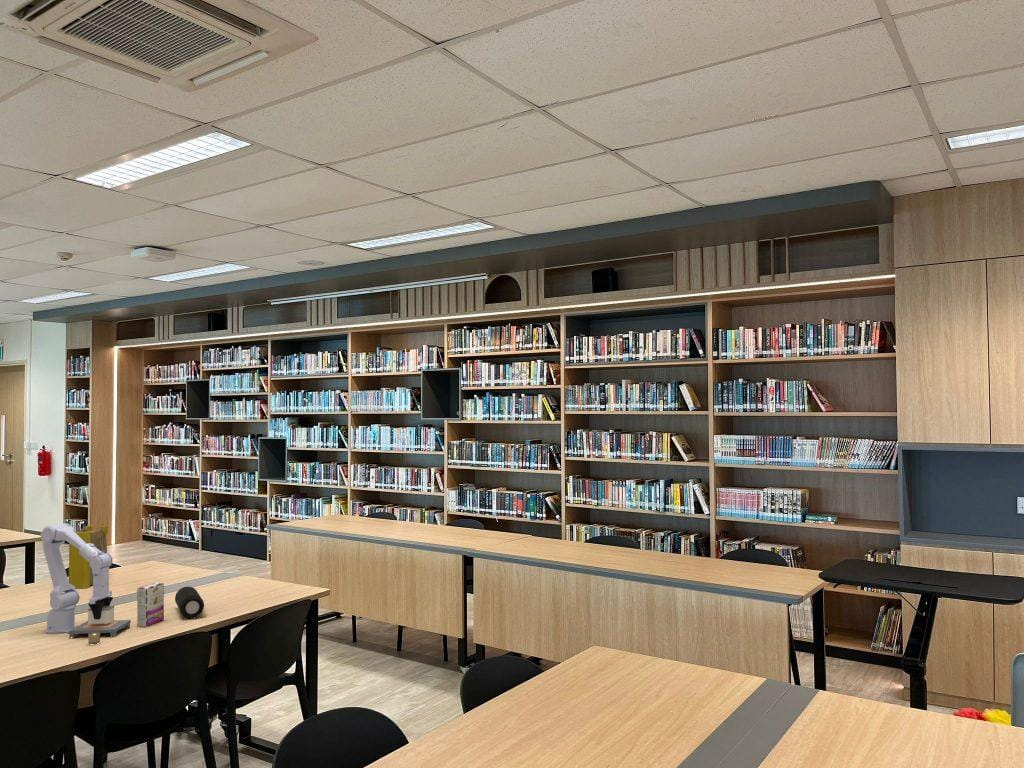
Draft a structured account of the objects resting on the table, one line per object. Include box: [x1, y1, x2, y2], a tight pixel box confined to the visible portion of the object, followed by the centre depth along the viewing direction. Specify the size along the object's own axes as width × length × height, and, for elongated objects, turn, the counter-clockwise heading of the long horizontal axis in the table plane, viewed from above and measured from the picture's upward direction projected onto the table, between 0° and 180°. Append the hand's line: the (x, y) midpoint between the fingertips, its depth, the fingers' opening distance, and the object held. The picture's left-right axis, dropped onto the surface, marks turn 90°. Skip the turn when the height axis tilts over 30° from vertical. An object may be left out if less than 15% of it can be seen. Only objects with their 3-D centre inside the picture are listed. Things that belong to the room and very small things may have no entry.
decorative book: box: [68, 525, 109, 589], centre depth 392 cm, size 20×11×30 cm, turn 0°
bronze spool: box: [87, 632, 101, 645], centre depth 287 cm, size 4×4×4 cm
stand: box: [68, 619, 132, 639], centre depth 301 cm, size 18×14×3 cm
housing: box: [87, 605, 115, 624], centre depth 302 cm, size 5×8×6 cm, turn 93°
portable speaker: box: [174, 585, 205, 619], centre depth 331 cm, size 26×10×10 cm, turn 30°
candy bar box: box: [136, 581, 165, 628], centre depth 314 cm, size 11×5×16 cm, turn 168°
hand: (100, 617), depth 301 cm, fingers closed on housing, 5 cm apart
